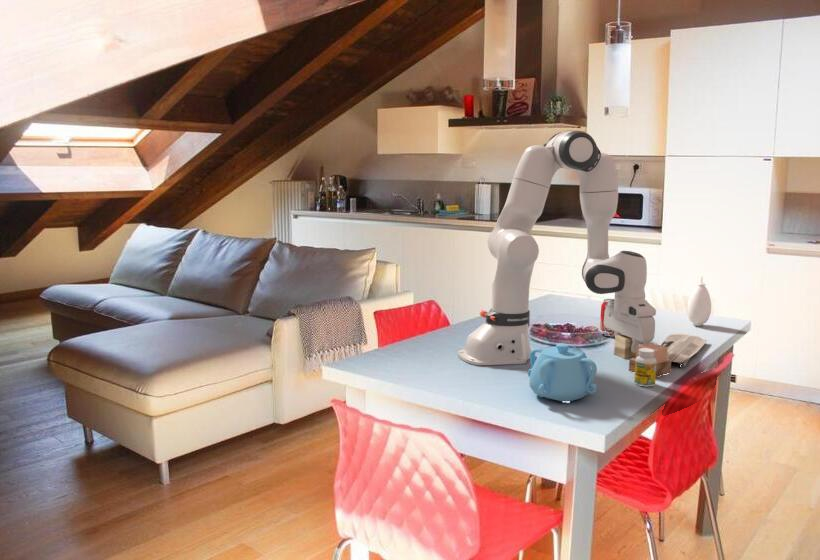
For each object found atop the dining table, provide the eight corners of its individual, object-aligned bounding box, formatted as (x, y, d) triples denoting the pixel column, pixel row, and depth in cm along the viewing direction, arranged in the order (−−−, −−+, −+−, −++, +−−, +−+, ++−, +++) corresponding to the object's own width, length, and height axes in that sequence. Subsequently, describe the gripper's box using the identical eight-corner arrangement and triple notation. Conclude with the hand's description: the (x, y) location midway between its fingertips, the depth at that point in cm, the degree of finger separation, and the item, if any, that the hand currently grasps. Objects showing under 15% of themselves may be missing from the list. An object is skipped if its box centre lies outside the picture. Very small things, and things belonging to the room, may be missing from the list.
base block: (652, 380, 195) (653, 366, 194) (628, 372, 201) (629, 359, 201) (670, 375, 199) (671, 361, 199) (646, 367, 206) (647, 354, 205)
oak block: (624, 358, 213) (625, 339, 212) (614, 354, 218) (615, 335, 217) (637, 357, 215) (639, 338, 214) (627, 352, 220) (628, 334, 218)
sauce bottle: (707, 323, 257) (712, 274, 253) (711, 329, 249) (715, 278, 246) (684, 322, 258) (688, 273, 255) (687, 327, 251) (691, 277, 248)
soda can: (597, 336, 239) (599, 301, 236) (602, 331, 245) (604, 297, 242) (618, 338, 235) (620, 303, 233) (622, 334, 241) (625, 299, 239)
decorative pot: (525, 384, 190) (527, 335, 187) (586, 385, 189) (588, 336, 186) (532, 406, 174) (534, 353, 171) (598, 407, 173) (601, 354, 170)
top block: (654, 364, 195) (655, 351, 195) (635, 359, 200) (636, 346, 199) (666, 361, 199) (667, 347, 198) (647, 356, 204) (648, 342, 203)
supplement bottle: (656, 383, 191) (659, 349, 189) (652, 389, 187) (655, 354, 185) (636, 380, 194) (638, 346, 192) (631, 385, 189) (634, 351, 187)
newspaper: (668, 339, 238) (669, 328, 237) (708, 344, 232) (708, 333, 231) (645, 366, 208) (646, 354, 207) (691, 373, 202) (692, 361, 201)
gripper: (600, 298, 222) (597, 341, 224) (642, 312, 203) (638, 359, 206) (617, 297, 224) (614, 339, 227) (660, 311, 205) (656, 357, 208)
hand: (626, 349), depth 216 cm, fingers closed on oak block, 5 cm apart
